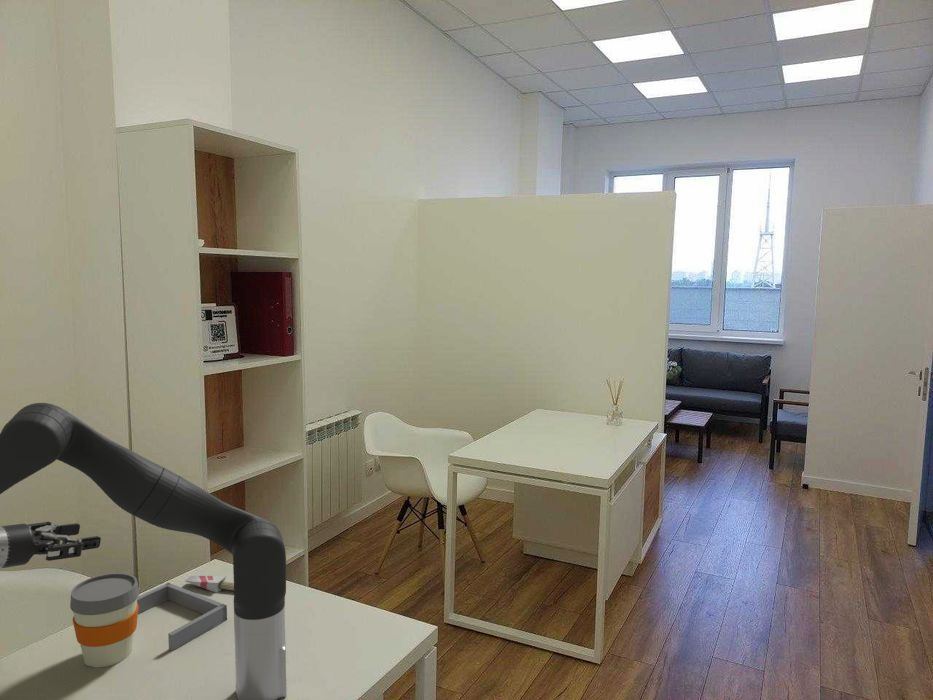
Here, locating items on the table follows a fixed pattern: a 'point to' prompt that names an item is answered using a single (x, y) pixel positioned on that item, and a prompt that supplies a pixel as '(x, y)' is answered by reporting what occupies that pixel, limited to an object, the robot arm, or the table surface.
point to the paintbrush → (211, 582)
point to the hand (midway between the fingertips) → (88, 535)
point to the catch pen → (204, 605)
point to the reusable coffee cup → (105, 617)
